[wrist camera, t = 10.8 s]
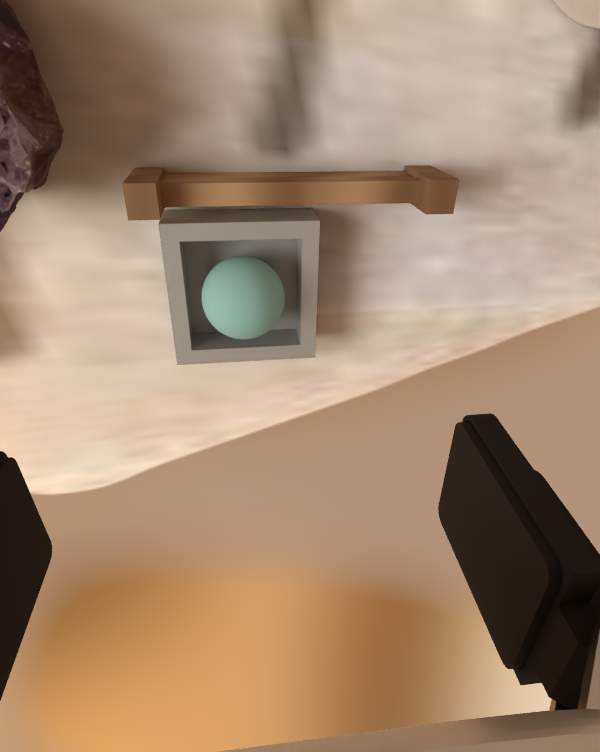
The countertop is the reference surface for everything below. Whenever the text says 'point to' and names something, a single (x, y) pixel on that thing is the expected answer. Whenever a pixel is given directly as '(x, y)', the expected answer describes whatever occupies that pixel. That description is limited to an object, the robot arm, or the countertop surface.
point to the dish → (230, 239)
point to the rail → (287, 189)
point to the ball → (243, 297)
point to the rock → (22, 117)
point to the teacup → (581, 11)
